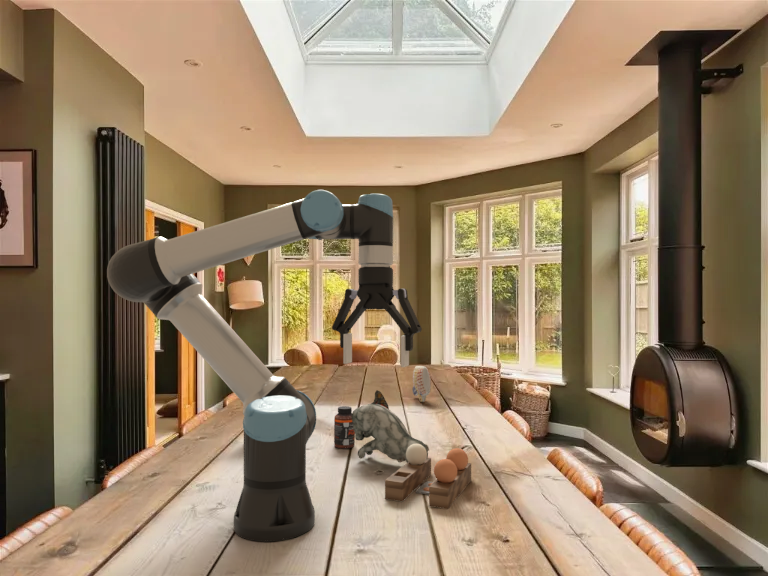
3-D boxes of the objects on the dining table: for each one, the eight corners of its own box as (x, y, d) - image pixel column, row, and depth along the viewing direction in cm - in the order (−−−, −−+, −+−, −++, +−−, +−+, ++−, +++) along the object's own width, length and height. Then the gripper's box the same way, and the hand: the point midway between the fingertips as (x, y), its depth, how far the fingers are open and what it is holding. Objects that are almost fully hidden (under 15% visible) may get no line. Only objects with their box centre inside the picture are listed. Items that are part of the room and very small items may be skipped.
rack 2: (447, 509, 111) (447, 489, 111) (429, 506, 113) (429, 486, 113) (471, 480, 128) (471, 463, 129) (454, 477, 130) (454, 461, 130)
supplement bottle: (351, 449, 154) (351, 409, 154) (331, 448, 155) (331, 408, 155) (357, 444, 160) (357, 405, 160) (337, 443, 161) (337, 404, 161)
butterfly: (399, 426, 182) (399, 396, 182) (370, 426, 181) (370, 396, 181) (394, 417, 194) (394, 389, 194) (367, 418, 193) (367, 390, 193)
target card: (434, 495, 119) (434, 493, 119) (415, 492, 120) (415, 490, 120) (444, 485, 125) (444, 483, 125) (426, 482, 127) (426, 480, 127)
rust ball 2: (465, 475, 121) (464, 452, 122) (443, 472, 123) (443, 450, 124) (470, 468, 126) (470, 447, 126) (449, 465, 128) (449, 444, 128)
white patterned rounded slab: (408, 397, 233) (408, 362, 234) (420, 396, 234) (420, 362, 235) (421, 407, 213) (421, 368, 213) (435, 406, 214) (435, 368, 214)
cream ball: (422, 469, 125) (422, 447, 126) (402, 466, 127) (402, 445, 128) (429, 463, 130) (429, 442, 130) (410, 460, 132) (410, 440, 132)
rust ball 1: (453, 488, 113) (453, 464, 113) (430, 484, 115) (430, 461, 115) (459, 480, 118) (460, 457, 118) (437, 477, 120) (438, 454, 120)
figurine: (349, 479, 138) (414, 468, 128) (344, 405, 145) (405, 390, 135) (373, 478, 146) (436, 468, 135) (366, 408, 153) (426, 394, 142)
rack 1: (402, 501, 115) (402, 482, 115) (385, 498, 117) (385, 480, 117) (431, 474, 133) (431, 458, 133) (415, 472, 134) (415, 456, 134)
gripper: (436, 266, 116) (436, 365, 116) (333, 268, 126) (333, 359, 126) (424, 264, 109) (424, 369, 109) (317, 266, 119) (316, 363, 119)
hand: (375, 364), depth 117 cm, fingers open, 13 cm apart
